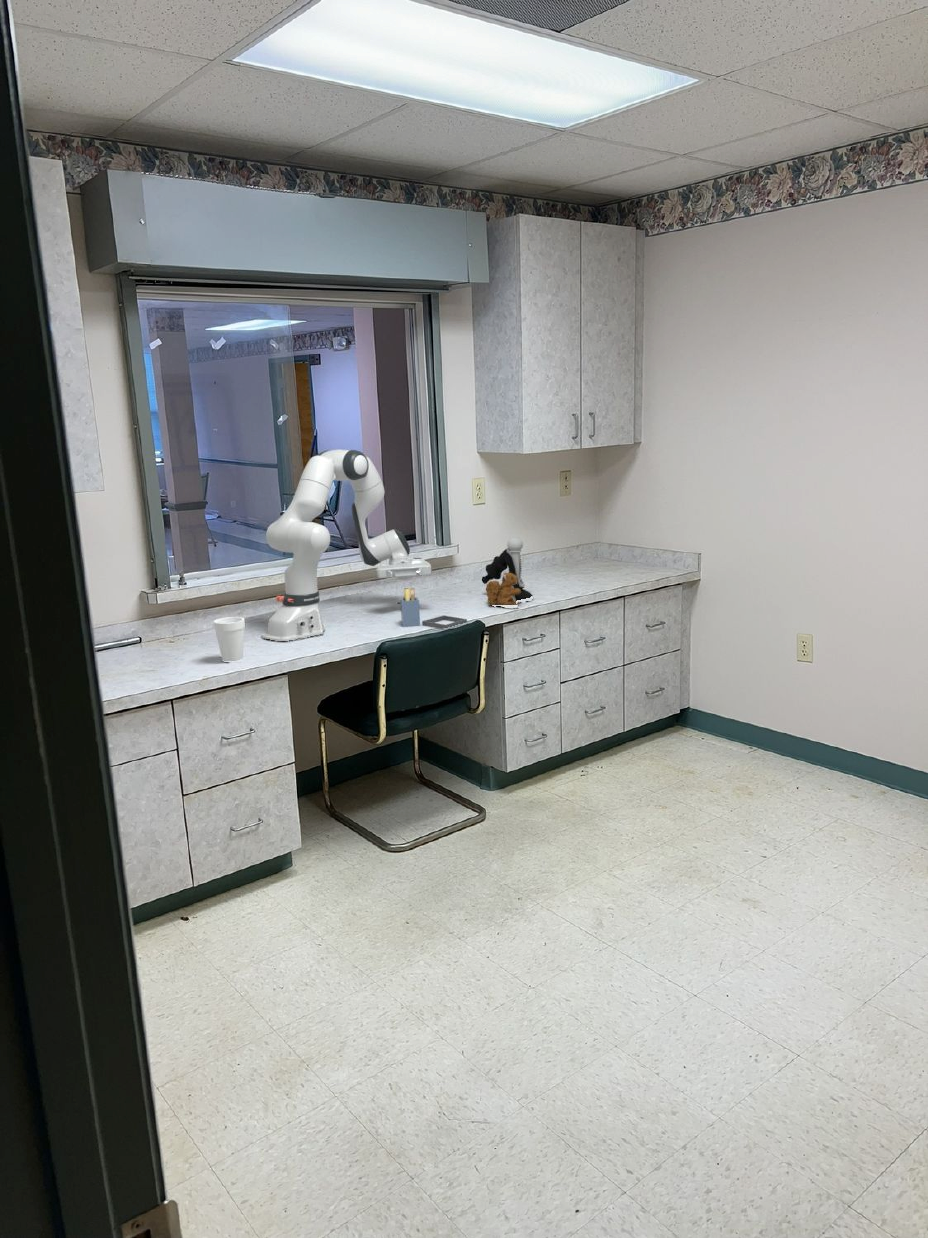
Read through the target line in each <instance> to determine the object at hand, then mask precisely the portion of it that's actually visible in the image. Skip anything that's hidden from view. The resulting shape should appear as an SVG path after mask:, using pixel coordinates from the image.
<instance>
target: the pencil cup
mask: <svg viewBox="0 0 928 1238" xmlns="http://www.w3.org/2000/svg"><path fill="white" fill-rule="evenodd" d="M399 599H400V618H401V625H402V627H403V628H409V627H421V619H420V618H421V615H420V613H421V612H420V599H419V598H418V597H417V596H415V600H411V597H410V601H405V597H400V598H399Z"/></svg>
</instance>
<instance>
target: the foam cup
mask: <svg viewBox="0 0 928 1238" xmlns="http://www.w3.org/2000/svg"><path fill="white" fill-rule="evenodd" d="M245 622H246V621H245V618H244V617H241V616H228V617H227V616H226V617H220V618H217V619H215V620H213V629H214V630H215V635H216V638H217V643H218V649H219V652H220V655H221V657H220V658H221V660H222V661H223V660H224V661H237V660H240V659H242V658H243V659H244V647H245V645H244V643H245V628H246V624H245Z"/></svg>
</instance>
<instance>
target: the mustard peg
mask: <svg viewBox="0 0 928 1238" xmlns="http://www.w3.org/2000/svg"><path fill="white" fill-rule="evenodd" d="M404 598H405V601H410V598H411V596H410V589H409V588H408V589H405V595H404Z"/></svg>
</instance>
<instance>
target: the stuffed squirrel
mask: <svg viewBox="0 0 928 1238" xmlns="http://www.w3.org/2000/svg"><path fill="white" fill-rule="evenodd" d="M501 578H502V579H501V583H500V581H497V580H489V581H488V582H487V584H485V586H486V587H485V593H486V597H487V600H486V601H487V603H488V606H490V605H518V606H519V603H518V604H516V601H517V600H516V599H515V596H514V595H519V594H520V593H521V590H520V589H519V588H514V587H513V585H515V584H516V583H517V579H518V578H517V576H516V575H514V574H513V573H509V572H504V573H503V575H502V577H501Z"/></svg>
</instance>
